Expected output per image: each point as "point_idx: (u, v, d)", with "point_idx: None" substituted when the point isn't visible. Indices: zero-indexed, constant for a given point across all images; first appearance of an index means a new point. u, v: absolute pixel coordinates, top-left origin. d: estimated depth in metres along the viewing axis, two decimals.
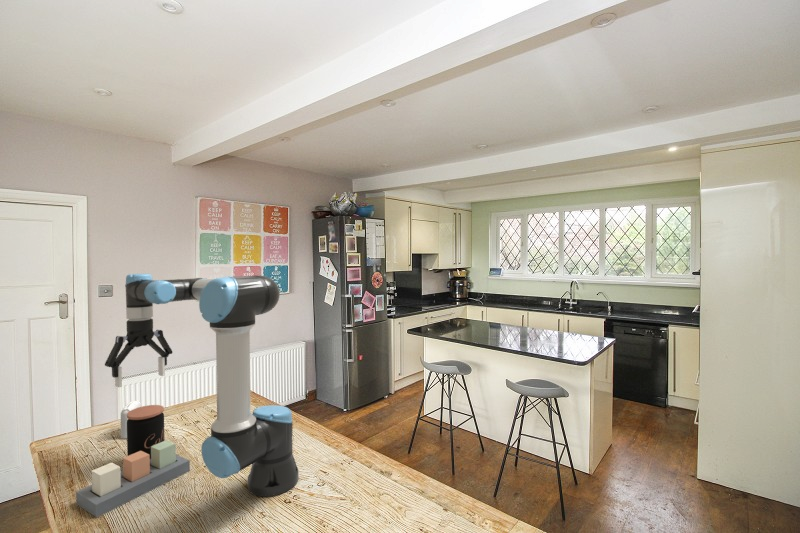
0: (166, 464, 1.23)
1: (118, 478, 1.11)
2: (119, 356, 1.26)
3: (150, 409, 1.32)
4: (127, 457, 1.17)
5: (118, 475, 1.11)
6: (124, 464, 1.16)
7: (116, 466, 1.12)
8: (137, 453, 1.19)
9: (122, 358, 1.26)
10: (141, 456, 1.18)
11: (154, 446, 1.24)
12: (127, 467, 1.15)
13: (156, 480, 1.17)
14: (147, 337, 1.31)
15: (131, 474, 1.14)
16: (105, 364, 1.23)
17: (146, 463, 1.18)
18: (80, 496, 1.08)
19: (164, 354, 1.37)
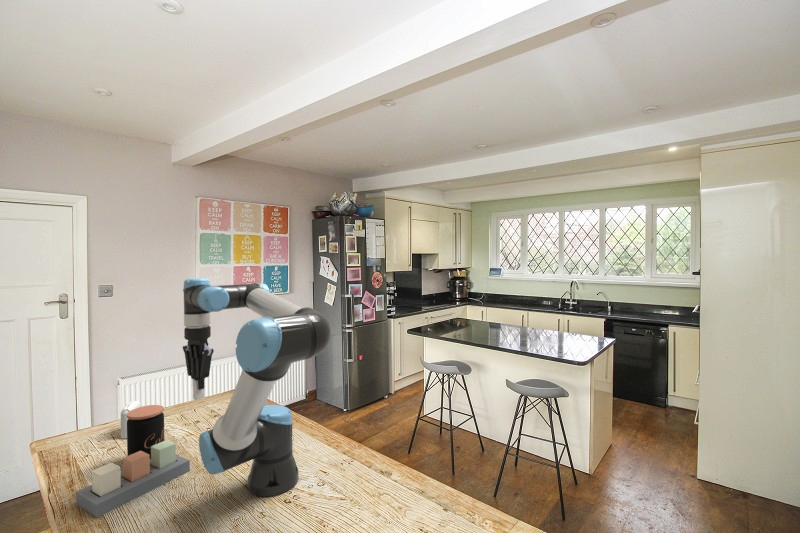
0: (166, 464, 1.23)
1: (118, 478, 1.11)
2: None
3: (150, 409, 1.32)
4: (127, 457, 1.17)
5: (118, 475, 1.11)
6: (124, 464, 1.16)
7: (116, 466, 1.12)
8: (137, 453, 1.19)
9: (192, 368, 1.24)
10: (141, 456, 1.18)
11: (154, 446, 1.24)
12: (127, 467, 1.15)
13: (156, 480, 1.17)
14: (194, 347, 1.22)
15: (131, 474, 1.14)
16: None
17: (146, 463, 1.18)
18: (80, 496, 1.08)
19: (197, 376, 1.23)
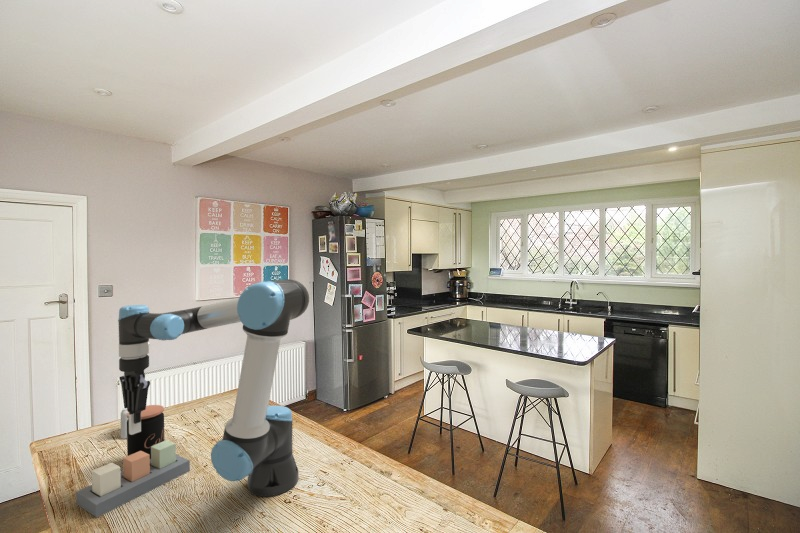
0: (166, 464, 1.23)
1: (118, 478, 1.11)
2: None
3: (150, 409, 1.32)
4: (127, 457, 1.17)
5: (118, 475, 1.11)
6: (124, 464, 1.16)
7: (116, 466, 1.12)
8: (137, 453, 1.19)
9: (128, 401, 1.17)
10: (141, 456, 1.18)
11: (154, 446, 1.24)
12: (127, 467, 1.15)
13: (156, 480, 1.17)
14: (129, 379, 1.15)
15: (131, 474, 1.14)
16: None
17: (146, 463, 1.18)
18: (80, 496, 1.08)
19: (132, 409, 1.16)
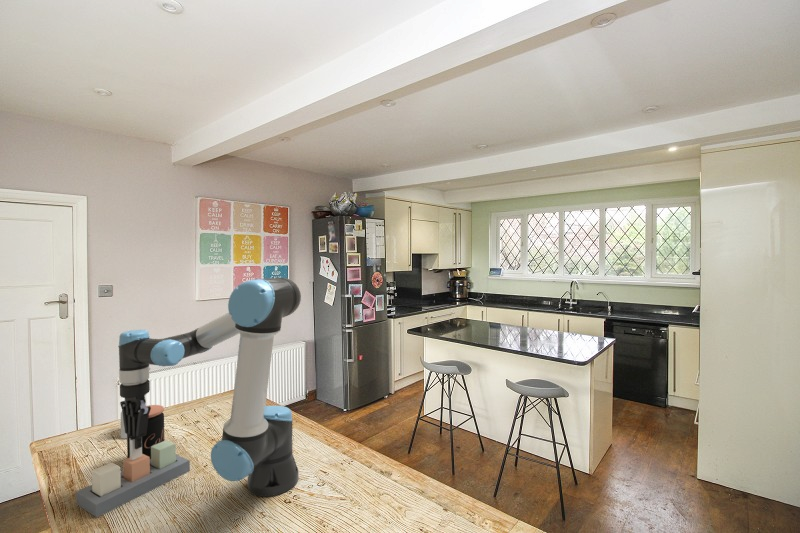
0: (166, 464, 1.23)
1: (118, 478, 1.11)
2: None
3: None
4: (127, 459, 1.17)
5: (118, 475, 1.11)
6: (124, 466, 1.16)
7: (116, 466, 1.12)
8: None
9: (129, 426, 1.17)
10: (141, 458, 1.18)
11: (154, 446, 1.24)
12: (127, 469, 1.15)
13: (156, 480, 1.17)
14: (130, 405, 1.15)
15: (132, 477, 1.14)
16: None
17: (146, 465, 1.18)
18: (80, 496, 1.08)
19: (133, 435, 1.16)
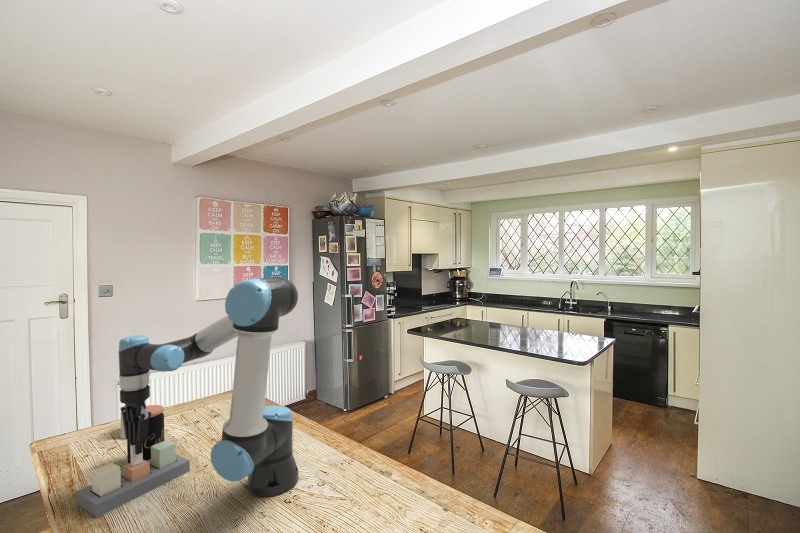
0: (166, 464, 1.23)
1: (118, 478, 1.11)
2: None
3: (150, 409, 1.32)
4: (127, 465, 1.17)
5: (118, 475, 1.11)
6: (124, 472, 1.16)
7: (116, 466, 1.12)
8: None
9: (129, 432, 1.17)
10: (141, 464, 1.18)
11: (154, 446, 1.24)
12: (127, 475, 1.15)
13: (156, 480, 1.17)
14: (130, 410, 1.15)
15: None
16: None
17: (146, 471, 1.18)
18: (80, 496, 1.08)
19: (133, 440, 1.16)
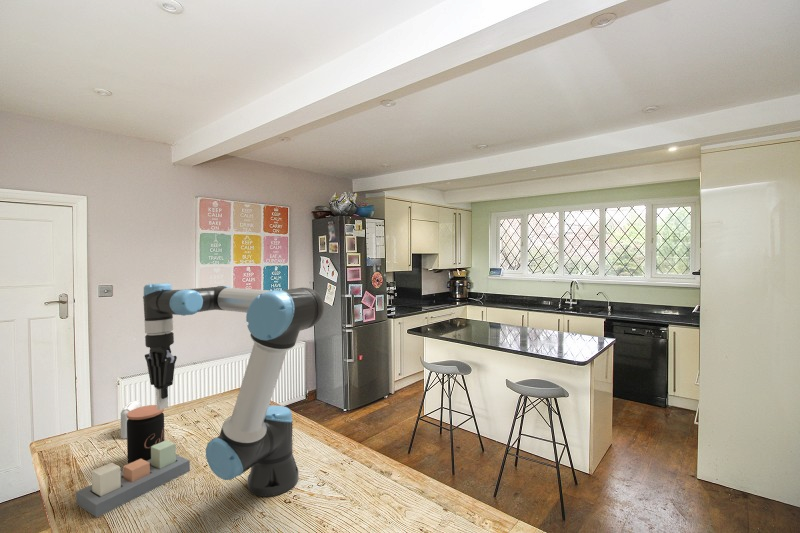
0: (166, 464, 1.23)
1: (118, 478, 1.11)
2: None
3: (150, 409, 1.32)
4: (127, 465, 1.17)
5: (118, 475, 1.11)
6: (124, 472, 1.16)
7: (116, 466, 1.12)
8: (137, 461, 1.19)
9: (155, 377, 1.19)
10: (141, 464, 1.18)
11: (154, 446, 1.24)
12: (127, 475, 1.15)
13: (156, 480, 1.17)
14: (156, 355, 1.17)
15: None
16: None
17: (146, 471, 1.18)
18: (80, 496, 1.08)
19: (159, 384, 1.18)
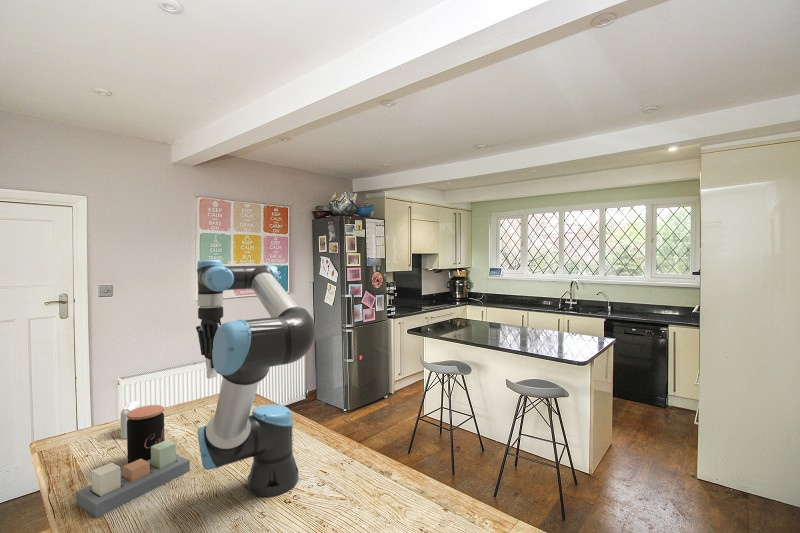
0: (166, 464, 1.23)
1: (118, 478, 1.11)
2: None
3: (150, 409, 1.32)
4: (127, 465, 1.17)
5: (118, 475, 1.11)
6: (124, 472, 1.16)
7: (116, 466, 1.12)
8: (137, 461, 1.19)
9: (205, 348, 1.27)
10: (141, 464, 1.18)
11: (154, 446, 1.24)
12: (127, 475, 1.15)
13: (156, 480, 1.17)
14: (208, 327, 1.25)
15: None
16: None
17: (146, 471, 1.18)
18: (80, 496, 1.08)
19: (210, 355, 1.25)
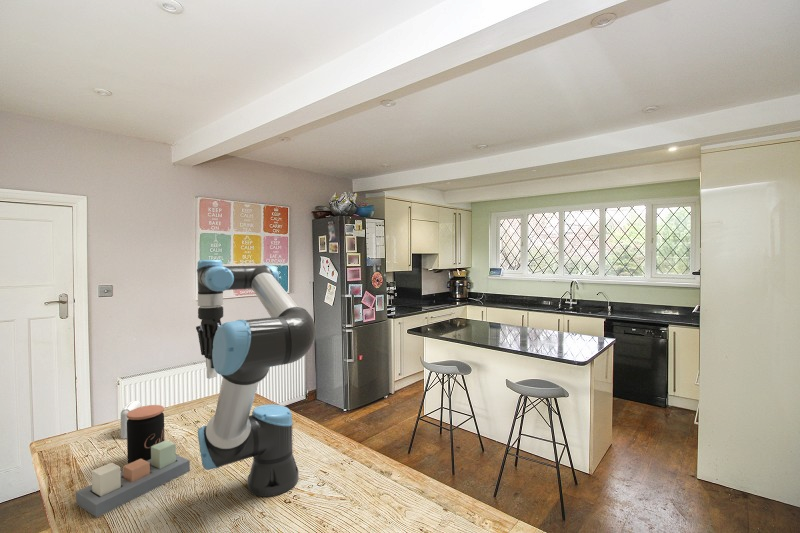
0: (166, 464, 1.23)
1: (118, 478, 1.11)
2: None
3: (150, 409, 1.32)
4: (127, 465, 1.17)
5: (118, 475, 1.11)
6: (124, 472, 1.16)
7: (116, 466, 1.12)
8: (137, 461, 1.19)
9: (205, 348, 1.27)
10: (141, 464, 1.18)
11: (154, 446, 1.24)
12: (127, 475, 1.15)
13: (156, 480, 1.17)
14: (208, 327, 1.25)
15: None
16: None
17: (146, 471, 1.18)
18: (80, 496, 1.08)
19: (210, 355, 1.25)
